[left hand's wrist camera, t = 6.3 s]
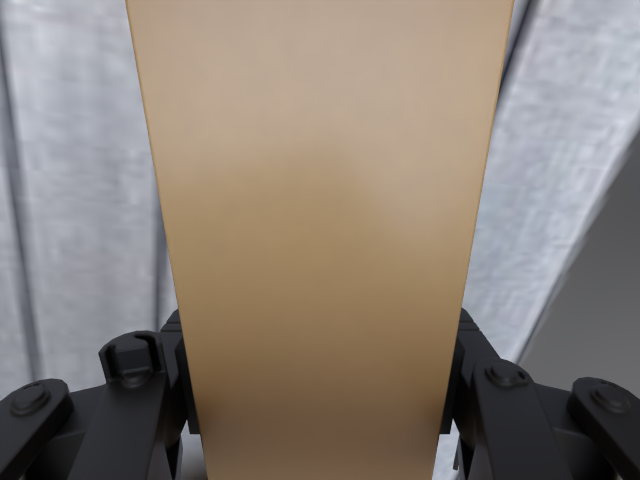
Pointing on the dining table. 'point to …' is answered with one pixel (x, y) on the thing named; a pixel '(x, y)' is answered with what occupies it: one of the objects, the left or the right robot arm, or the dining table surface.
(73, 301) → the dining table surface
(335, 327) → the bar
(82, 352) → the dining table surface
